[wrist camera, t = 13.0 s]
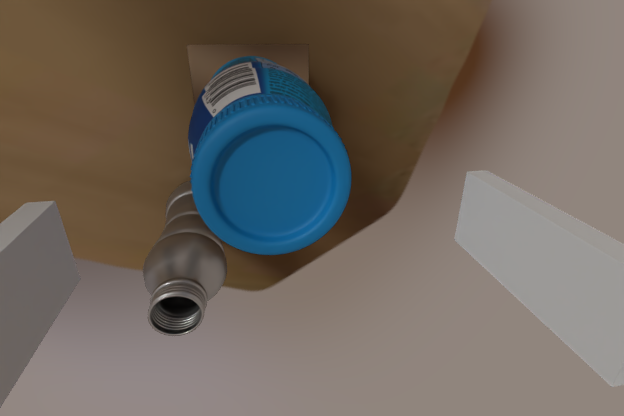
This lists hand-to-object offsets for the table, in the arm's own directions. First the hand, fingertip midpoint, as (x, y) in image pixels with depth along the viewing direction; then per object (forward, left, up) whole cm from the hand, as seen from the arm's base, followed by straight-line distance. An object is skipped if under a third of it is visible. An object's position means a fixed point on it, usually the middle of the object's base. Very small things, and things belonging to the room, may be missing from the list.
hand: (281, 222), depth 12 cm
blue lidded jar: (0, 0, -23) cm, 23 cm away
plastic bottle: (+12, -6, -31) cm, 33 cm away
